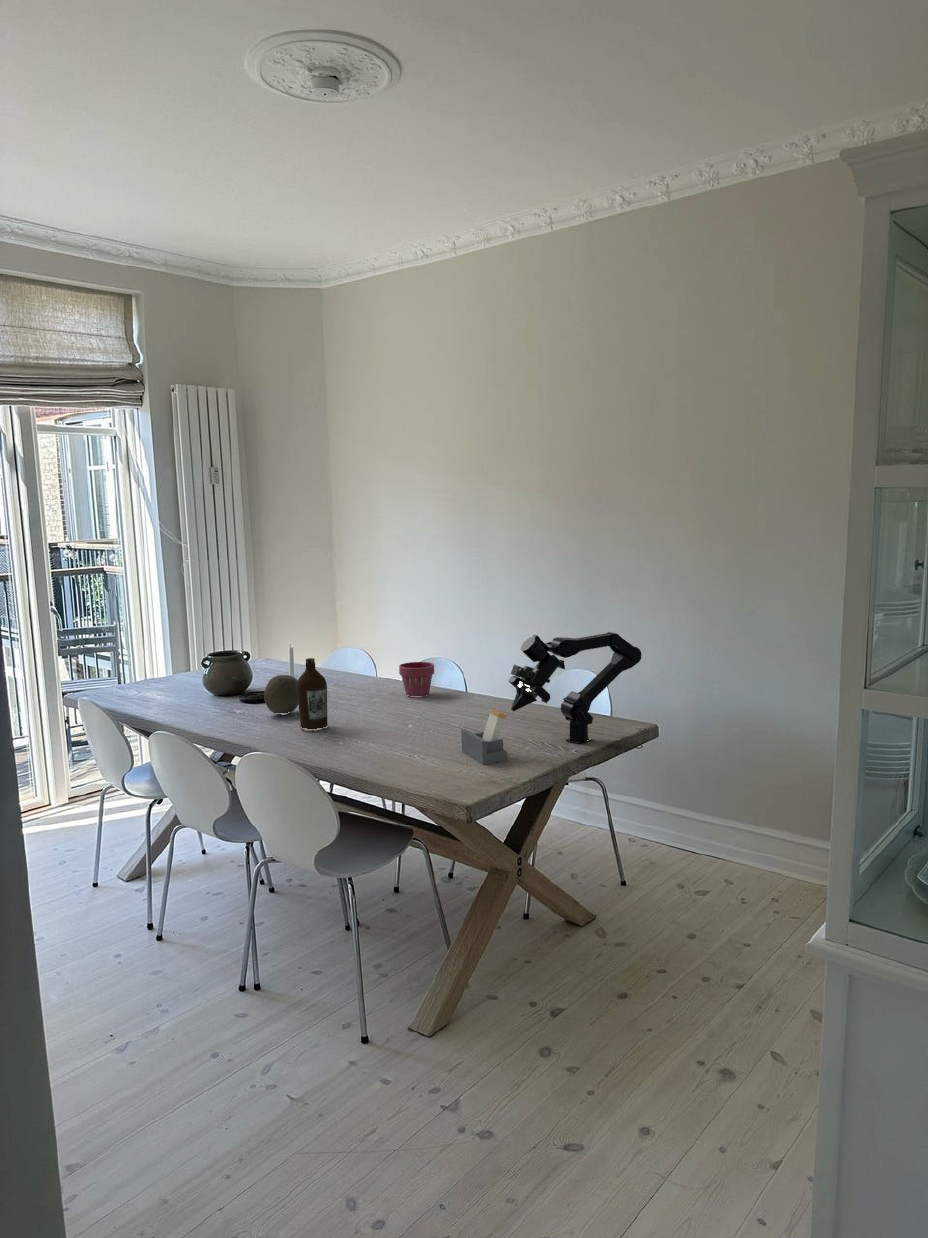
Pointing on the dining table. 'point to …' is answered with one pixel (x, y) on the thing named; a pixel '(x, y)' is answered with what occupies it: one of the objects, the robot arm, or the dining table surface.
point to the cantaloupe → (281, 694)
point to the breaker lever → (493, 725)
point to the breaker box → (482, 748)
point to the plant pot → (417, 677)
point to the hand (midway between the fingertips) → (512, 710)
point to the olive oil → (312, 697)
